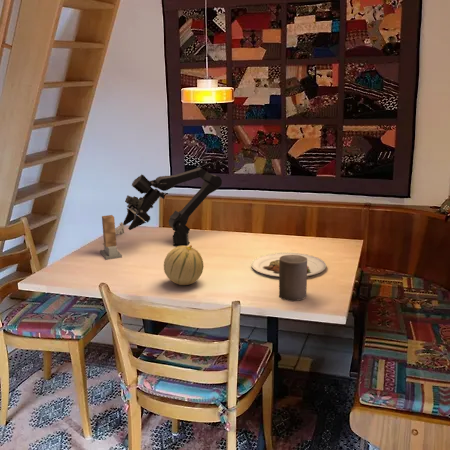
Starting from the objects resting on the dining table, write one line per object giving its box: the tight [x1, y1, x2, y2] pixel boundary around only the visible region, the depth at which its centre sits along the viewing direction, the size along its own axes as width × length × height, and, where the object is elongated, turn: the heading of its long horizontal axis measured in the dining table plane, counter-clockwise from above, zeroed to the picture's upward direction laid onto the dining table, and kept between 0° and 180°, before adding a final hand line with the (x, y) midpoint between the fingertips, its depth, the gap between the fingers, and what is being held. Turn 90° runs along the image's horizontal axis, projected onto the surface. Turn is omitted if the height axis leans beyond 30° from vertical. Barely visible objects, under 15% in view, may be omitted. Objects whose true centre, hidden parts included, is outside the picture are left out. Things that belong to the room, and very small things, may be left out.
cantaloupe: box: [163, 244, 204, 286], centre depth 202 cm, size 15×15×15 cm
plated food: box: [250, 252, 327, 278], centre depth 219 cm, size 30×30×3 cm
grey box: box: [99, 244, 123, 261], centre depth 240 cm, size 12×7×4 cm, turn 25°
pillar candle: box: [278, 255, 308, 302], centre depth 188 cm, size 10×10×15 cm
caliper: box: [102, 221, 125, 245], centre depth 265 cm, size 21×1×6 cm, turn 164°
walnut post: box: [101, 214, 117, 247], centre depth 238 cm, size 4×4×13 cm
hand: (126, 227), depth 241 cm, fingers open, 9 cm apart
